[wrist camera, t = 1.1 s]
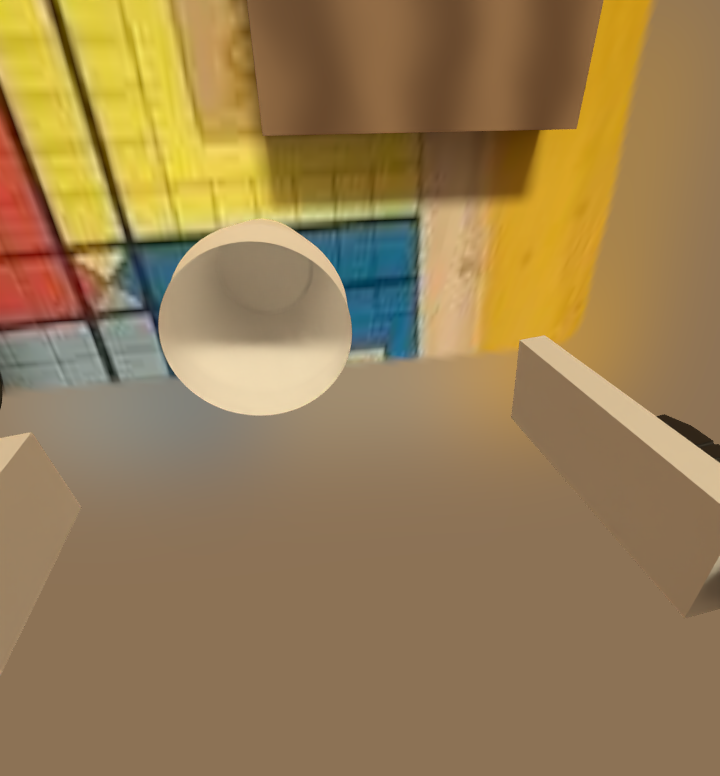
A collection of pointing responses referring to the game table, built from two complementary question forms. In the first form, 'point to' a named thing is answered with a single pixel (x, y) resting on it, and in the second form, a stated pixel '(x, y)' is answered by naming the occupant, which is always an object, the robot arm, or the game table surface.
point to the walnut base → (420, 64)
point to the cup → (256, 319)
